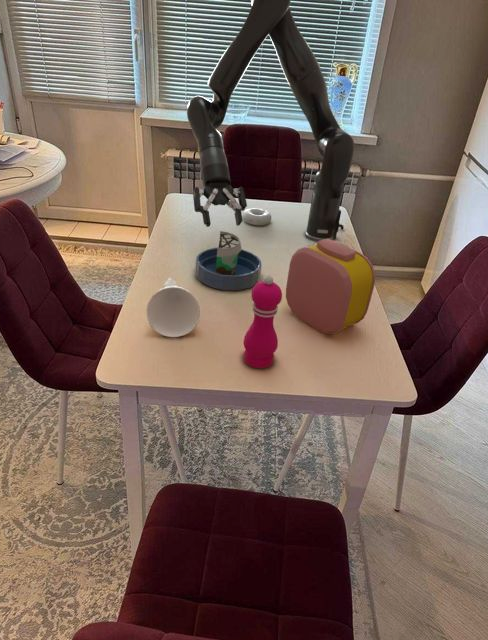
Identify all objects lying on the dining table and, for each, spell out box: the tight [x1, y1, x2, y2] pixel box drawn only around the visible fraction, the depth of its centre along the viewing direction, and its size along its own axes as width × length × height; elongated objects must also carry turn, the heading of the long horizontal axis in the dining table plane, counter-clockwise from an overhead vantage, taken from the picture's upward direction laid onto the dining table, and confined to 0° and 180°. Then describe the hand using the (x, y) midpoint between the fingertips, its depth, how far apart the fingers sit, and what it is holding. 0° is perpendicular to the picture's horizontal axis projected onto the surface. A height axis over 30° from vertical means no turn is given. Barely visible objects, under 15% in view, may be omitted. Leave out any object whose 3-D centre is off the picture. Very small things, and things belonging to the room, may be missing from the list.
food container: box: [216, 230, 243, 275], centre depth 133 cm, size 12×6×10 cm, turn 179°
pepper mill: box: [243, 275, 283, 369], centre depth 100 cm, size 7×7×20 cm
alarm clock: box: [285, 239, 376, 335], centre depth 116 cm, size 18×11×19 cm, turn 41°
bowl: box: [195, 247, 263, 291], centre depth 134 cm, size 18×18×4 cm
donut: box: [242, 207, 272, 226], centre depth 169 cm, size 10×4×10 cm
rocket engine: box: [146, 277, 201, 338], centre depth 115 cm, size 12×12×18 cm
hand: (224, 225), depth 133 cm, fingers open, 8 cm apart
